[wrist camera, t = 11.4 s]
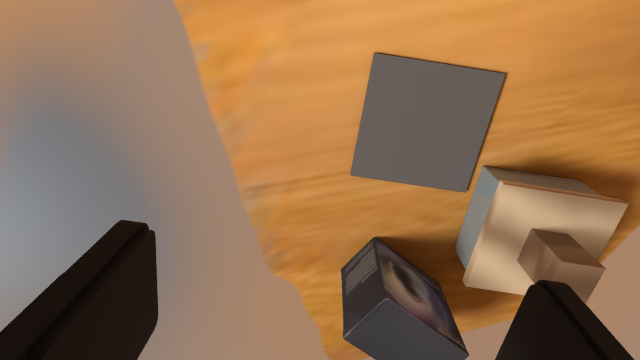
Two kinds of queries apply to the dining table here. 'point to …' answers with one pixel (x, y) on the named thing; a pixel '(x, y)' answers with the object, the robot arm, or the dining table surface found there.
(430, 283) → the small box
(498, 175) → the open box
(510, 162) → the dining table surface
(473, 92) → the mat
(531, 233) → the lid
